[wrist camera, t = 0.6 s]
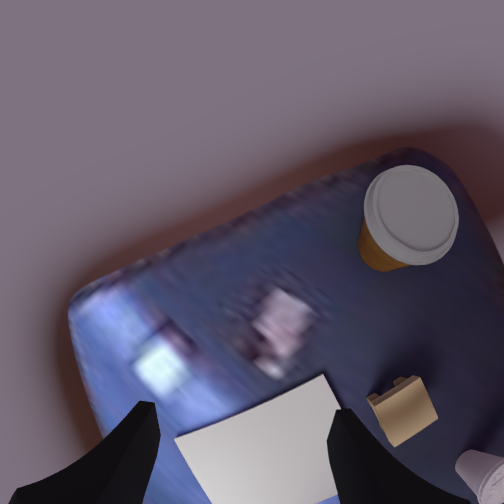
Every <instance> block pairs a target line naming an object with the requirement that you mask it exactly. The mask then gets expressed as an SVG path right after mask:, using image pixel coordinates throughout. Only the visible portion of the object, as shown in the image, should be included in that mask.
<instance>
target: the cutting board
mask: <svg viewBox="0 0 504 504" xmlns="http://www.w3.org/2000/svg"><path fill="white" fill-rule="evenodd" d="M336 409H341V408H340V406H339V404H338V402H337V400H336V398H335V396H334V394H333V392H332V390H331V388H330V387H329V385H328V383H327V381H326V379H325V377H324V375H323V374H321V375H319V376H317V377H315V378H313V379H311V380H309V381H307V382H305V383H303V384H301V385H299V386H297V387H295V388H293V389H291V390H289V391H287V392H285V393H283V394H281V395H279V396H276V397H274V398H272V399H270V400H268V401H266V402H263V403H261V404H259V405H257V406H255V407H252V408H250V409H248V410H245V411H243V412H241V413H238V414H236V415H234V416H231V417H229V418H226V419H224V420H221V421H219V422H216V423H214V424H211V425H209V426H206V427H203V428H201V429H198V430H195V431H192V432H190V433H187V434H184V435H181V436H178V437H176V438H175V439H174V440H175V442H176V444H177V446H178V447H179V449H180V451H181V453H182V455H183V456H184V458H185V460H186V462H187V463H188V465H189V467H190V468H191V470H192V472H193V473H194V475H195V477H196V478H197V480H198V482H199V483H200V485H201V487H202V488H203V490H204V491H205V493H206V494H207V496H208V498H209V499H210V501H211V502H212V504H316V503H319V502H321V501H323V500H326V499H328V498H330V497H332V496H335V495H337V494H338V493H337V489H336V485H335V482H334V478H333V474H332V471H331V467H330V463H329V457H328V450H327V442H326V441H327V438H328V435H329V431H330V428H331V425H332V422H333V418H334V415H335V412H336Z"/></svg>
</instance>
